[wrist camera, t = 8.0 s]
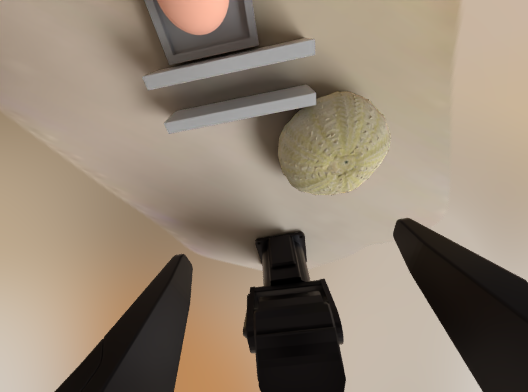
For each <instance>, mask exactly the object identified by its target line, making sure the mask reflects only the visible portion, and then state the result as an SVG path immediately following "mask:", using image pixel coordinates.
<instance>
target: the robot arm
mask: <svg viewBox="0 0 528 392" xmlns="http://www.w3.org/2000/svg"><path fill="white" fill-rule="evenodd" d="M393 236H394V239H395V241H396V243H397V246H398V248H399V250H400V252H401V254H402V256H403V258H404V261H405V263H406V265H407V267H408V269H409V271H410V273H411V275H412V276H413V278H414V280H415V281H416V283H417V285H418V286H419V288H420V289H421V291H422V293H423V294H424V296H425V298H426V299H427V301H428V303H429V304H430V306H431V308H432V309H433V311H434V312H435V314H436V316H437V317H438V319H439V321H440V322H441V324H442V325H443V327H444V329H445V330H446V332H447V334H448V335H449V337H450V339H451V340H452V342H453V343H454V345H455V347H456V348H457V350H458V352H459V353H460V355H461V357H462V358H463V360H464V361H465V363H466V365H467V366H468V368H469V370H470V371H471V373H472V375H473V376H474V378H475V379H476V381H477V383H478V384H479V386H480V388H481V389H482V391H483V392H528V282H527V281H526V280H524V279H523V278H521V277H519V276H517V275H515V274H513V273H511V272H509V271H508V270H506V269H504V268H502V267H500V266H498V265H496V264H494V263H493V262H491V261H489V260H487V259H485V258H483V257H481V256H479V255H478V254H476V253H474V252H472V251H470V250H468V249H466V248H464V247H462V246H460V245H459V244H457V243H455V242H453V241H451V240H449V239H447V238H446V237H444V236H442V235H440V234H438V233H436V232H434V231H432V230H431V229H429V228H427V227H425V226H423V225H421V224H419V223H418V222H416V221H414V220H412V219H410V218H404V219H399V220H397V222H396V225H395V228H394V232H393ZM256 247H257V250H258V253H259V256H260V259H261V263H262V266H263V284H264V286H263V287H250V294H248V296H247V313H246V317H245V322H244V327H243V335H244V336H245V337H246V338H247V340H248V344H249V348H250V352H251V353H256V363H257V376H258V381H259V388H260V391H261V392H344V388H345V381H346V377H345V373H344V367H343V362H342V357H341V352H340V347H339V345H340V344H343V331H342V325H341V321H340V318H339V314H338V311H337V308H336V306H335V303H334V301H333V298H332V296H331V294H330V291H329V288H328V286H327V284H326V281H325V279H320V280H316V281H310V277H309V273H308V269H307V265H306V262H307V258H306V246H305V236H304V233H303V232H298V233H291V234H285V235H278V236H272V237H265V238H259V239H256ZM192 270H193V268H192V264H191V263H190V261H189V260H188V258H187V257H186V256H185V255H184V254H179V255H175V256H174V257H173V258H172V259H171V260H170V261H169V262H168V263H167V265H166V266H165V267H164V268H163V269H162V270H161V272H160V273H159V274H158V275H157V276H156V277H155V279H154V280H153V281H152V282H151V283H150V284H149V285H148V287H147V288H146V289H145V290H144V291H143V293H142V294H141V295H140V296H139V297H138V298H137V299H136V301H135V302H134V303H133V304H132V305H131V306H130V308H129V309H128V310H127V311H126V312H125V313H124V315H123V316H122V317H121V318H120V319H119V320H118V322H117V323H116V324H115V325H114V326H113V327H112V328H111V330H110V331H109V332H108V333H107V334H106V335H105V337H104V339H102V340H101V341H100V342H99V344H98V345H97V346H96V347H95V348H94V349H93V351H92V352H91V353H90V354H89V355H88V356H87V357H86V359H85V360H84V361H83V362H82V363H81V364H80V365H79V366H78V367H77V368H76V369H75V371H74V372H73V373H72V374H71V375H70V376H69V377H68V378H67V379H66V380H65V381H64V382H63V383H62V384H61V385H60V387H59V388H58V389H57V390H56V391H55V392H174V388H175V382H176V377H177V372H178V366H179V361H180V355H181V350H182V344H183V339H184V333H185V328H186V323H187V317H188V311H189V306H190V297H191V284H192Z"/></svg>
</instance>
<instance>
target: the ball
mask: <svg viewBox="0 0 528 392" xmlns="http://www.w3.org/2000/svg"><path fill="white" fill-rule="evenodd" d="M157 1H158V3H159V5H160V7H161V9H162V10H163V12H164V14H165V15H166V16H167V17H168V19H169V20H170V21H171V22H172V23H173V24H174V25H175V26H177V27H178V28H179V29H181V30H183V31H185V32H187V33H190V34H193V35H205V34H208V33H211V32H212V31H214V30H215V29H217V28H218V27H219V26H220V24H221V23H222V22H223V20H224V18H225V16H226V13H227V10H228V5H229V0H157Z"/></svg>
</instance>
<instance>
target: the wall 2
mask: <svg viewBox="0 0 528 392" xmlns="http://www.w3.org/2000/svg"><path fill="white" fill-rule="evenodd" d="M313 105H316V92H315V91H314V90H312V89H311V88H310V87H309V86H308V85H307V84H306V85H301V86H296V87H291V88H286V89H281V90H276V91H271V92H267V93H262V94H257V95H252V96H247V97H242V98H237V99H232V100H227V101H222V102H218V103H213V104H208V105H203V106H198V107H193V108H188V109H183V110H178V111H175V112H174V113H173V114H172V115H171V116H170V117H169V118H168V119H167V121H166V122H165V123H164V125H165V127H166V129H167V131H168V133H169V134H171V133H176V132H181V131H186V130H191V129H196V128H201V127H206V126H211V125H216V124H221V123H227V122H232V121H237V120H242V119H247V118H252V117H257V116H262V115H267V114H272V113H277V112H283V111H288V110H293V109H298V108H303V107H308V106H313Z"/></svg>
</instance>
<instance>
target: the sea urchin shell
mask: <svg viewBox="0 0 528 392" xmlns="http://www.w3.org/2000/svg"><path fill="white" fill-rule="evenodd" d="M390 135H391V134H390V132H389V128H388V126H387V123H386V119H385V117H384V115H383V114H381V113H380V112H379V111H378V109H376V108H375V106H374V105H373V104H372V103H371V101H369V100H368V99H365V98H364V97H363V96H359V95H356V94H354V93H351V92H348V91H347V92H338V91H337V92H335V93H332V94H330V95H327V96H323V97H320V98H317V99H316V105H313V106H308V107H304V108H303V109H300V110H299V112H297V113H296V114H295V115H294V116H293V118H292V119H291V120H290V121H289V122H288V123H287V124H286V125H285V126H284V128H283V130H282V132H281V135H280V137H279V146H278V147H279V148H278V159H279V162H280V164H281V169H282V172H283V173H284V175H285V176H286V177H287V179H288V181H289V183H290V184H291V185H292V186H293V187H295V188H296V189H298V190H299V191H301V192H308V193H311V194H314V195H317V194H318V195H334V194H338V193H345V192H350V191H352V190H354V189H356V188H357V187H358V186H360V185H361V184H362V183H363V182H364V181H365V180H367V179H368V178H369V177H370V176H371V174H372V173H373V172H374V171H375V170H376V169H377V168H378V166H379V165H381V163H382V161H383V159H384V157H385V155H386V154H387V152H388V151H389V146H390V139H391V138H390Z"/></svg>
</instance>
